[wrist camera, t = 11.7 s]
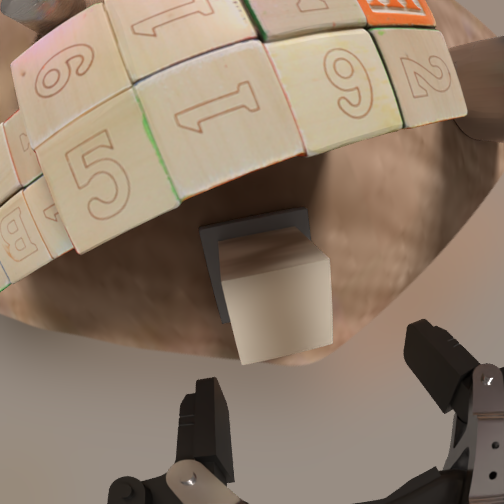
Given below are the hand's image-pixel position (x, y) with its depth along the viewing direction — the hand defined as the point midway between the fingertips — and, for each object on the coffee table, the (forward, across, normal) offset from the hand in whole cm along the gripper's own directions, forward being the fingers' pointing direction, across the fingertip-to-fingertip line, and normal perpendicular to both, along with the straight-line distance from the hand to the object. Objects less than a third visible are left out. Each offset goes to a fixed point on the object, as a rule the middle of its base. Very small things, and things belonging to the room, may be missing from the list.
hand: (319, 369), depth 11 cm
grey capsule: (+10, +11, -23) cm, 27 cm away
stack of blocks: (+11, +5, -10) cm, 16 cm away
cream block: (+10, +1, 0) cm, 10 cm away
